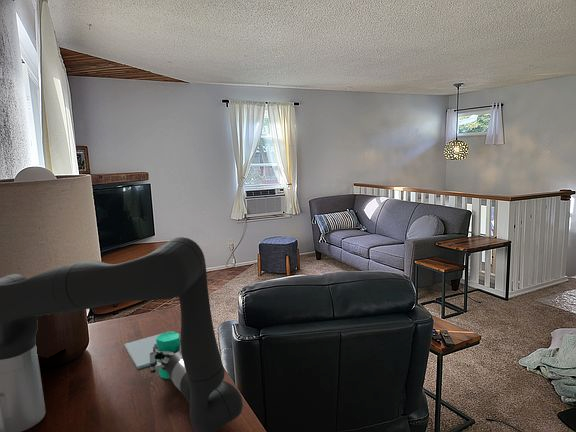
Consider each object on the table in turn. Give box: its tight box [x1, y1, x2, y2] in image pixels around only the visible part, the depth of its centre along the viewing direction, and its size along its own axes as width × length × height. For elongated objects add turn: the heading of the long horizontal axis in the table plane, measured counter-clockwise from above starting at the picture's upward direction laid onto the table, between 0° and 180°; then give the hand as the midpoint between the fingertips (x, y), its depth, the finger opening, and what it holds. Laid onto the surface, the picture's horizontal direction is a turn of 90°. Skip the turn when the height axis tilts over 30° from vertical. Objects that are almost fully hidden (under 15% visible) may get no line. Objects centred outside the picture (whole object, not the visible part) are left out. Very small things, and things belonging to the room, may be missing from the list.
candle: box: [156, 330, 181, 380], centre depth 103 cm, size 6×6×12 cm
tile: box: [124, 333, 161, 370], centre depth 116 cm, size 16×14×1 cm
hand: (165, 344), depth 105 cm, fingers closed on candle, 4 cm apart
